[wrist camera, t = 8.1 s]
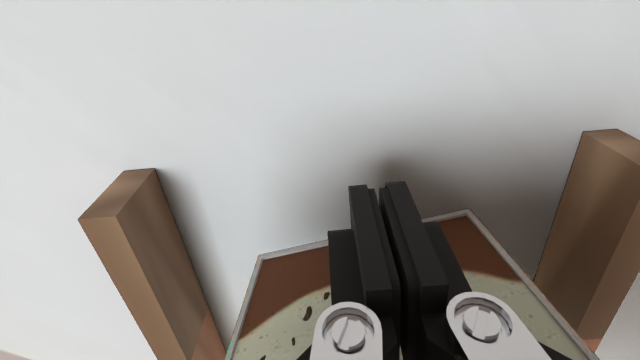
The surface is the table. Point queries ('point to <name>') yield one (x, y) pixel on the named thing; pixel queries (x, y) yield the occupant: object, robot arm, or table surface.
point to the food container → (315, 297)
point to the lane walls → (551, 279)
